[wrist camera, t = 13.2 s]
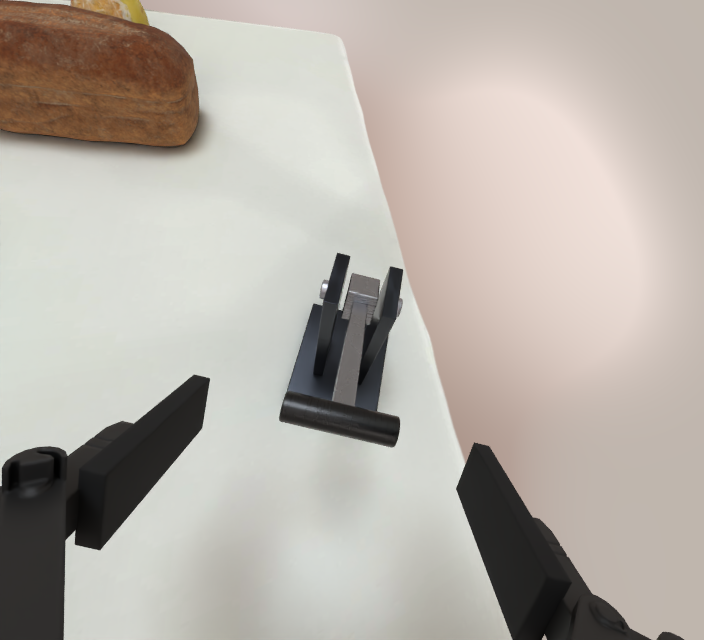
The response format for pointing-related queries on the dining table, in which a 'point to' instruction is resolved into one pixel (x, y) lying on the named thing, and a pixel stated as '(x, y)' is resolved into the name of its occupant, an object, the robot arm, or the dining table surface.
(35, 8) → the bread
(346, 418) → the lever
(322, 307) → the bracket
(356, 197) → the dining table surface
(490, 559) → the robot arm
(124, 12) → the fruit
